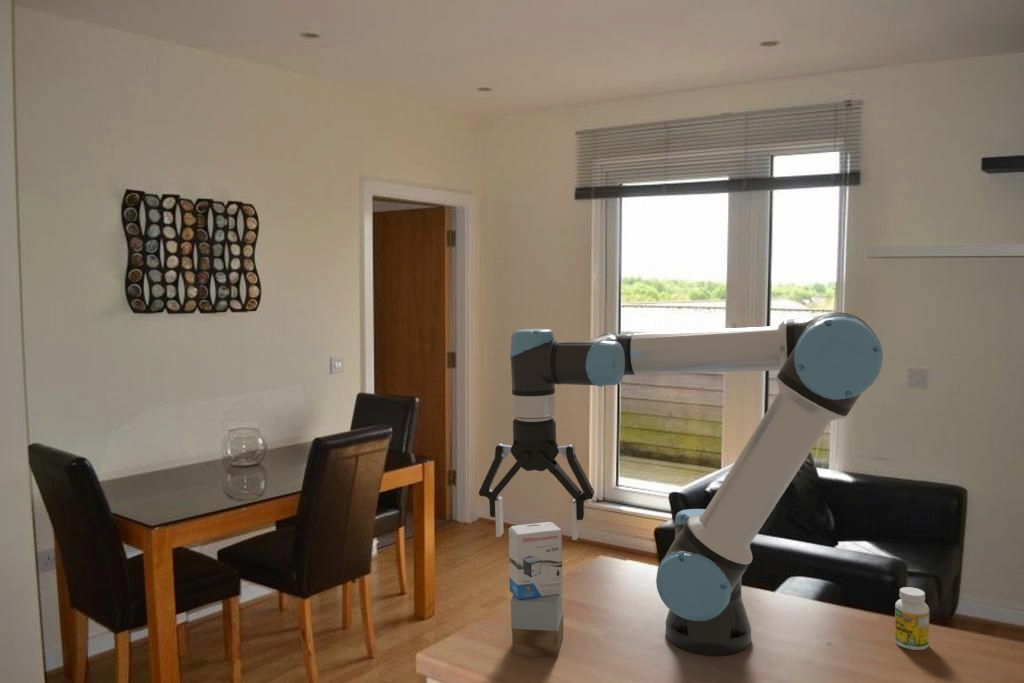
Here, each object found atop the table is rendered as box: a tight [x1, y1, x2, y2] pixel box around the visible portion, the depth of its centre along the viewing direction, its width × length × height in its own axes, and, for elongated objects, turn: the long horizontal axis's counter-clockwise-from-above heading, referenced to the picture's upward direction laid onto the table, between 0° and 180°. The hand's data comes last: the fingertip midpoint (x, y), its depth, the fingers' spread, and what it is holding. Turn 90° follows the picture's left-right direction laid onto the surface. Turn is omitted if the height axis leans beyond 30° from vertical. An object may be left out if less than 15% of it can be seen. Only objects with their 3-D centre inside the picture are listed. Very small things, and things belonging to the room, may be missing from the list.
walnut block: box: [511, 610, 564, 658], centre depth 143 cm, size 8×8×5 cm
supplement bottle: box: [894, 586, 930, 651], centre depth 141 cm, size 5×5×10 cm
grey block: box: [510, 593, 563, 631], centre depth 142 cm, size 8×8×5 cm
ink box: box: [508, 521, 564, 600], centre depth 142 cm, size 9×5×12 cm, turn 108°
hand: (537, 536), depth 142 cm, fingers open, 13 cm apart
